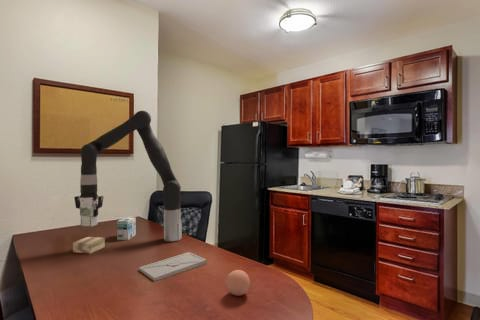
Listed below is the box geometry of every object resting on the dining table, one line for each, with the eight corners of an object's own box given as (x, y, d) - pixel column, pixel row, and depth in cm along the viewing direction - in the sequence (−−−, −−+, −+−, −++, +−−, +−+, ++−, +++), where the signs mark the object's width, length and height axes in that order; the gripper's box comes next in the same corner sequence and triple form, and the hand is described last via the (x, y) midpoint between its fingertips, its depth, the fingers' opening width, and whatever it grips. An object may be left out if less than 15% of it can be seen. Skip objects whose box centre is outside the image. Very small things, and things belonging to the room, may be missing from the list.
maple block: (104, 247, 142) (104, 237, 142) (90, 253, 132) (90, 243, 132) (87, 246, 143) (87, 236, 143) (72, 252, 134) (72, 242, 134)
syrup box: (98, 224, 140) (98, 196, 140) (90, 227, 135) (90, 197, 134) (87, 223, 141) (87, 196, 141) (80, 226, 135) (79, 197, 135)
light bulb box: (128, 240, 153) (128, 221, 153) (116, 240, 153) (116, 221, 153) (136, 234, 164) (136, 217, 164) (125, 234, 164) (125, 217, 164)
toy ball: (249, 288, 95) (249, 266, 95) (250, 300, 87) (250, 275, 87) (226, 289, 95) (226, 266, 95) (226, 300, 87) (225, 276, 87)
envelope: (139, 272, 111) (154, 283, 101) (139, 266, 111) (154, 277, 101) (189, 256, 128) (206, 264, 118) (189, 251, 128) (206, 259, 118)
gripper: (106, 182, 141) (106, 215, 141) (79, 182, 141) (79, 215, 142) (98, 184, 134) (99, 218, 134) (70, 184, 134) (70, 218, 134)
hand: (89, 216), depth 138 cm, fingers closed on syrup box, 6 cm apart
